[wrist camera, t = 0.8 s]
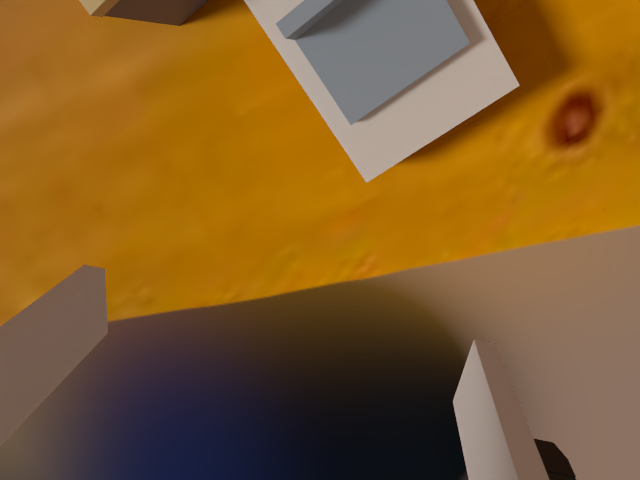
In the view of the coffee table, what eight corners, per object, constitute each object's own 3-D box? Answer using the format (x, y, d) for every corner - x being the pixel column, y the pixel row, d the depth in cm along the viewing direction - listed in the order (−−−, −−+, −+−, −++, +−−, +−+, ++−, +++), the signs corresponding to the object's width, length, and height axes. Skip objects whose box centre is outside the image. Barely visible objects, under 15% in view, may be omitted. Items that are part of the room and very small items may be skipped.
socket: (253, -7, 35) (233, -16, 31) (388, -124, 31) (389, -154, 27) (368, 167, 39) (366, 182, 34) (502, 81, 35) (519, 85, 31)
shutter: (288, 27, 31) (275, 23, 27) (405, -69, 28) (408, -86, 25) (351, 123, 33) (347, 132, 29) (468, 43, 30) (479, 42, 26)
